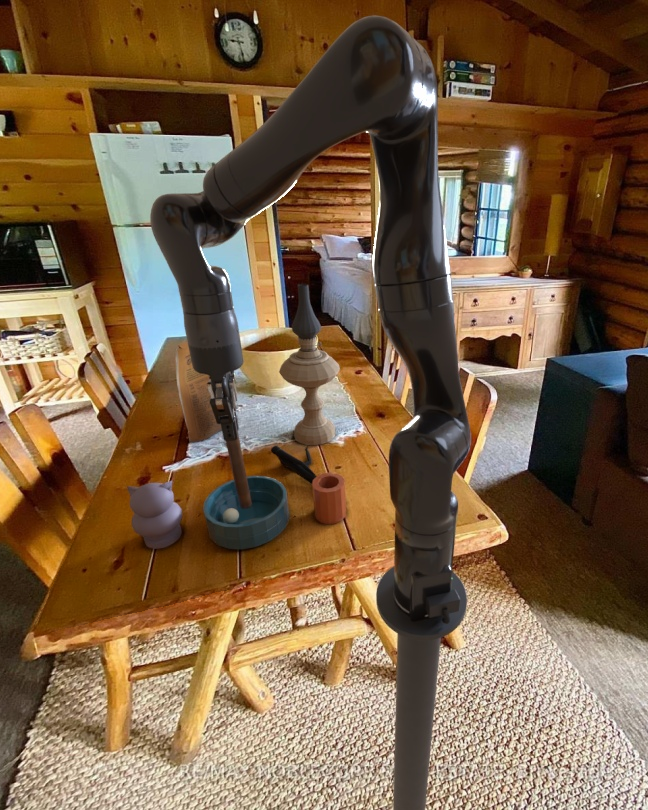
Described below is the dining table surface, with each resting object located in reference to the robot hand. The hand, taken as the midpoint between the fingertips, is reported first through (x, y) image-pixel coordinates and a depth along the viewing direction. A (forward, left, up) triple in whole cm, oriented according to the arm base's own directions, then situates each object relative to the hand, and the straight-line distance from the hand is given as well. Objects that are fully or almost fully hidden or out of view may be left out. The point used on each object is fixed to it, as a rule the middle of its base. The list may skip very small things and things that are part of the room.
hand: (231, 435), depth 75 cm
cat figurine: (+4, +16, -23) cm, 28 cm away
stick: (0, 0, -15) cm, 15 cm away
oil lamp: (+36, -16, -23) cm, 45 cm away
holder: (+3, -16, -22) cm, 28 cm away
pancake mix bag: (+45, +10, -23) cm, 51 cm away
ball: (+4, +3, -20) cm, 21 cm away
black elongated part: (+17, -15, -23) cm, 32 cm away
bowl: (+4, 0, -22) cm, 23 cm away
